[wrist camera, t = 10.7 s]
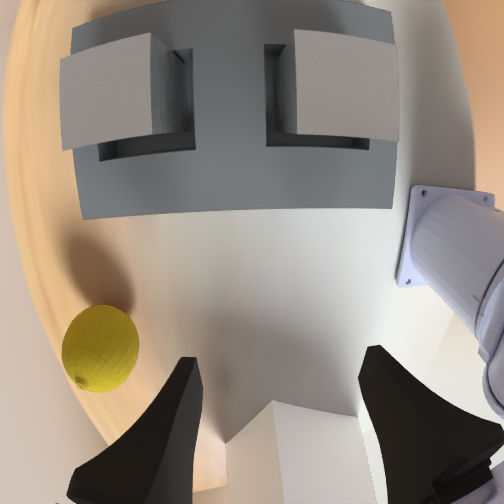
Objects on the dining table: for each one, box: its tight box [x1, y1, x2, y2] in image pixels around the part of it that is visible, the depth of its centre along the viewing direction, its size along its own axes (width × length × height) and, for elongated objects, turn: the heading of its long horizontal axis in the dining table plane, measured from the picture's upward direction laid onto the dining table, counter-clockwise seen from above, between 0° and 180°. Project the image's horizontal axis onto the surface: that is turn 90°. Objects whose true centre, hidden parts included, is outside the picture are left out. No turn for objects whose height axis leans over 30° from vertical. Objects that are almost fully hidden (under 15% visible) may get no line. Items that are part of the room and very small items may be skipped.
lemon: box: [62, 305, 139, 393], centre depth 18 cm, size 6×6×8 cm
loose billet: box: [60, 33, 189, 151], centre depth 11 cm, size 4×4×7 cm
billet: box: [274, 29, 399, 142], centre depth 12 cm, size 4×4×7 cm
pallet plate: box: [71, 0, 397, 220], centre depth 14 cm, size 18×12×3 cm, turn 91°
